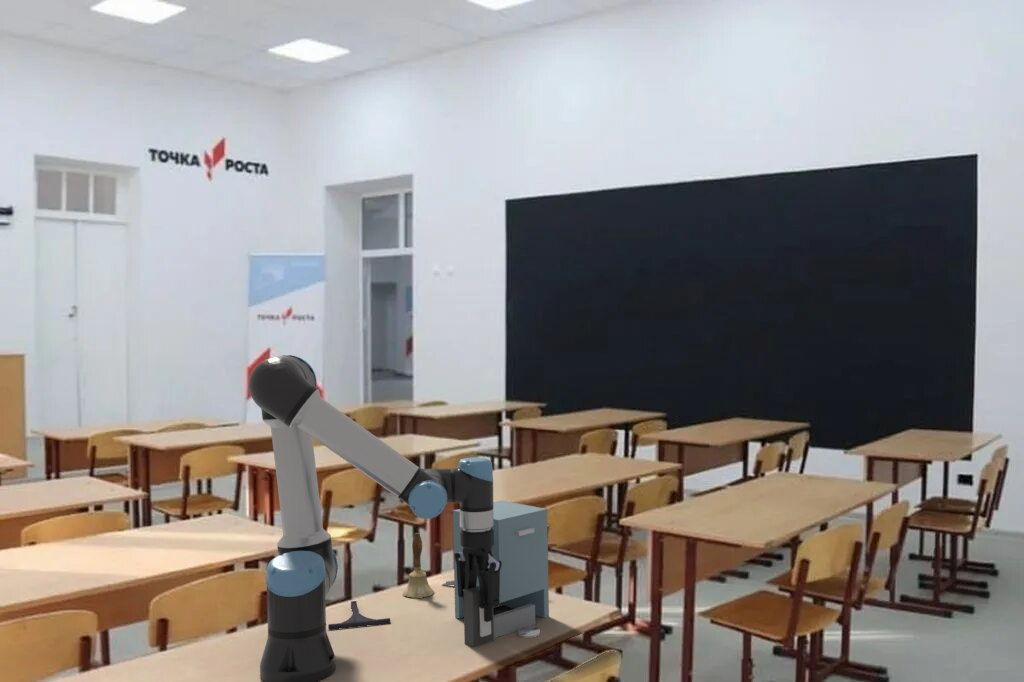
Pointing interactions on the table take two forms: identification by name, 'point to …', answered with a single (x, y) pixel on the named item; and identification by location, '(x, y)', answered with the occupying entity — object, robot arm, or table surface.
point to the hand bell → (418, 574)
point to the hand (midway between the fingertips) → (479, 632)
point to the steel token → (528, 631)
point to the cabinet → (515, 556)
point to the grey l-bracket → (499, 622)
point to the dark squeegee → (358, 620)
